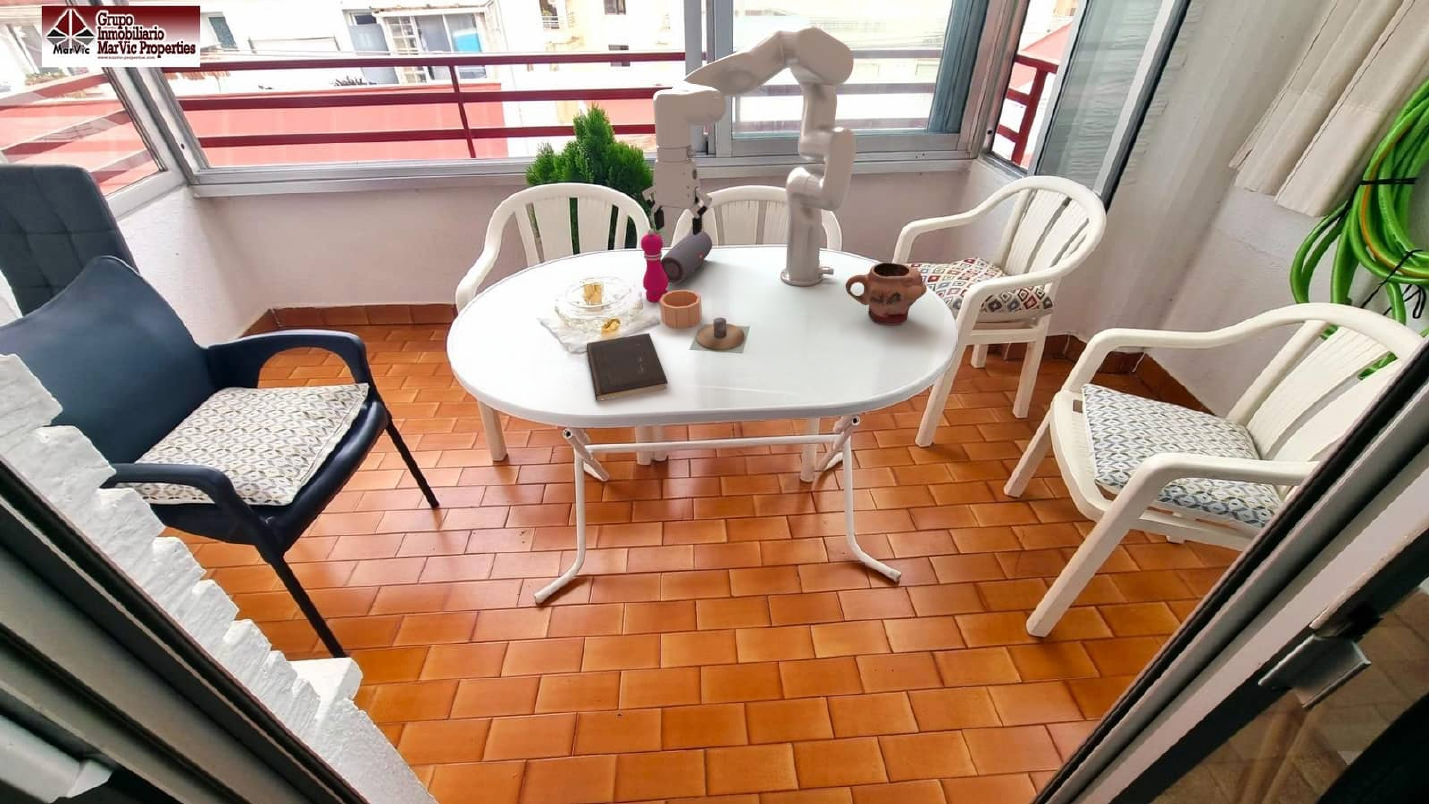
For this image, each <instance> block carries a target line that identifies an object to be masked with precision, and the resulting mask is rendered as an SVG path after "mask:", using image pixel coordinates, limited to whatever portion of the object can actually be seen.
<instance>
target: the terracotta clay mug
mask: <svg viewBox="0 0 1429 804" xmlns="http://www.w3.org/2000/svg"><path fill="white" fill-rule="evenodd" d="M857 283H859V284H861V285H863V292H862V294H859V295H856V294H854V293H853V292H852V291H851V288H852V286H853V285H854V284H857ZM844 286H845V291H846V293H847V294H848V295H849V296H851V298H853V299H854V300H855V301H857V302H858V303H860V304H862V305H863V306H868V311H867V312H868V313H867V314H868V316H869V318H870V320H871V321H873V322H874V323H877V324H881V325H885V326H886V325H890V326H891V325H900V324H903V323H905V322H906V321H907V319H908V316H909V310H910V308H911V306H912V305H914V303H916V301H917V300H918V299H920V298H921V297H922V296H924V295H925V294H926V293H927V290H928V289H927V288H928V287H927V285H926V283H924V281H923V276H922V274H921V272H920V271H919V270H918V269H917V268H914V267H911V266H910V265H907V264H903V263H895V262H879V263H875V264H873V266H871V267H870V269H869V273H868V272H867V274H866V273H865V274H856V275H853V276H851V277H849V278H848V279H847V281H846V283H845V285H844Z"/></svg>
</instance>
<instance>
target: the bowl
mask: <svg viewBox="0 0 1429 804" xmlns="http://www.w3.org/2000/svg"><path fill="white" fill-rule="evenodd" d="M659 307H660V308H659V310H660V317H661V321H662V323H663V324H664V325H665V326H667V327H671V328H675V329H681V328H682V329H683V328H690V327H691V328H692V327H693V326H696V325H697V324H700V322H701V321H702V317H703V313H702V312H703V311H702V296H701V295H700V294H699V293H698V292H696V291H693V290H688V289H678V290H677V289H675V290H670V291H668V293H666V294H664V295H662V297H661V299H660V301H659Z"/></svg>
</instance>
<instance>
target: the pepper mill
mask: <svg viewBox="0 0 1429 804" xmlns="http://www.w3.org/2000/svg"><path fill="white" fill-rule="evenodd" d="M646 233H647V234H645V235H644V236H642V238H641V239H640V248H641V249H642V251H643V255H644V256H643V258H644V259H645V261H646V270H645V273H644V275H643V280H642V287H643V289H645V290H646V291H645V297H646V300H647V301H649V302H651V303H652V302H653V303H658V302H660V299H661V297H662V295H664V294H666V293H668V292H669V291H668V287H669V285H670V283H669V282H668V278H667V275H666V274H665V272H664V270H663V268H662V265H661V260H662V258H663V251H662V249H663V247H664V242H663V239H662V237H661V236H660V235H659V234H657V233H655V231H654V229H653V228H648V229H647V231H646Z"/></svg>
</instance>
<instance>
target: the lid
mask: <svg viewBox="0 0 1429 804" xmlns="http://www.w3.org/2000/svg"><path fill="white" fill-rule="evenodd" d="M710 324H711V325H707V326H705V327H703V328H701V329H700V330H699V331H698V332H697V331H696V332H697V334H696V333H695V335H696V339H697V342H698V343H699V344H700V345H701V346H703V347H705V348H708V349H712V350H726V349H731V348H734V347H736V346H738V345H740V344H741V343H742V342H743V340H744V332H743V330H742V329H741V328H739V327H737V326H738V325H735V324H731V323H727V319H726V318H724V317H716V318H714V319H713V323H710Z"/></svg>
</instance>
